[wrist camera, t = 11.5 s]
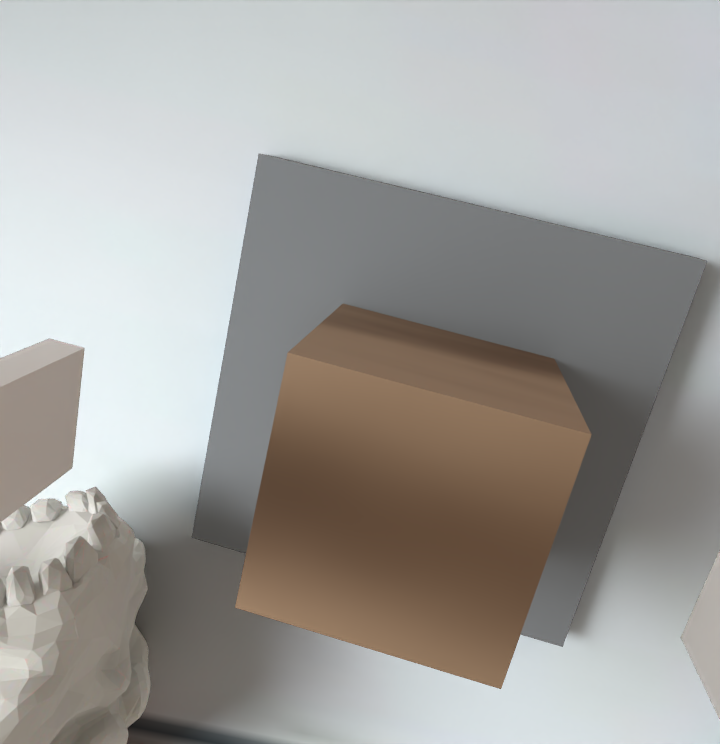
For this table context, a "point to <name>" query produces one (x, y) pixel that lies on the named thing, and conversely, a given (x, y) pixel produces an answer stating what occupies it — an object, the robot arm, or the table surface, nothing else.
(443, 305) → the mat
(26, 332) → the table surface
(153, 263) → the table surface
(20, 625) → the white two-tone toothed figurine
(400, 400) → the walnut cube
